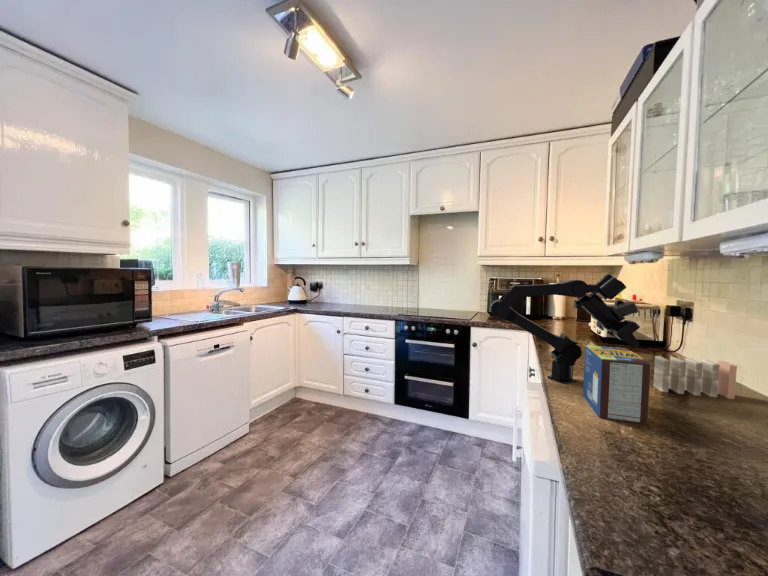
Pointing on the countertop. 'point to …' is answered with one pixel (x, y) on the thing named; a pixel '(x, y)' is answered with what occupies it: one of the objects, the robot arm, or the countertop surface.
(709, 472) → the countertop surface
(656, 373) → the domino
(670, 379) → the domino
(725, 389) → the domino
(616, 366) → the protein box
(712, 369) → the domino
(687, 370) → the domino
